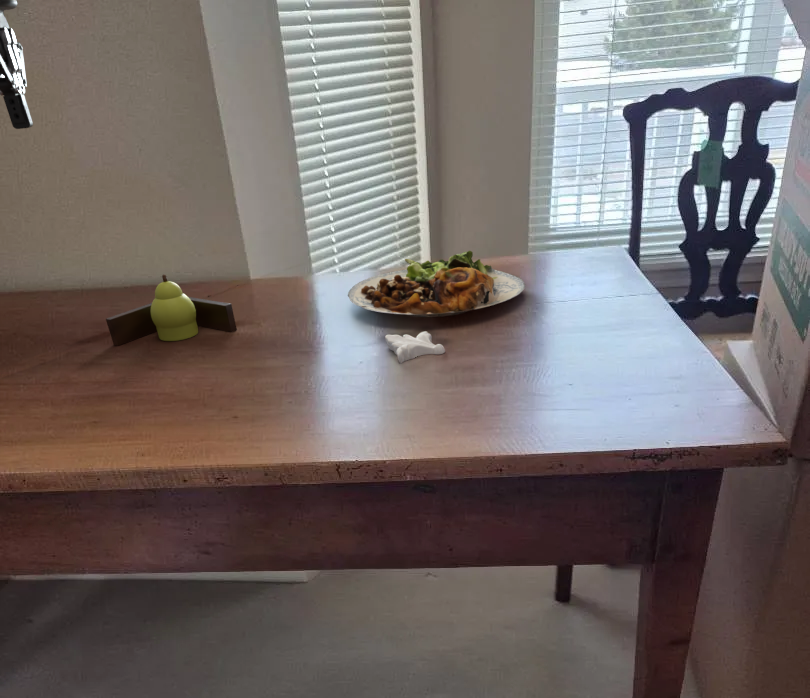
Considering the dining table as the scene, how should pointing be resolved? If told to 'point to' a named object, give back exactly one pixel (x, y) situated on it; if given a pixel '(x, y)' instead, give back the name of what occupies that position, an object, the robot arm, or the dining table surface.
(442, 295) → the plate of food
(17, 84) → the robot arm
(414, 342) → the acanthus leaf ornament
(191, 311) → the pear
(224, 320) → the corner fence
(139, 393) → the dining table surface
